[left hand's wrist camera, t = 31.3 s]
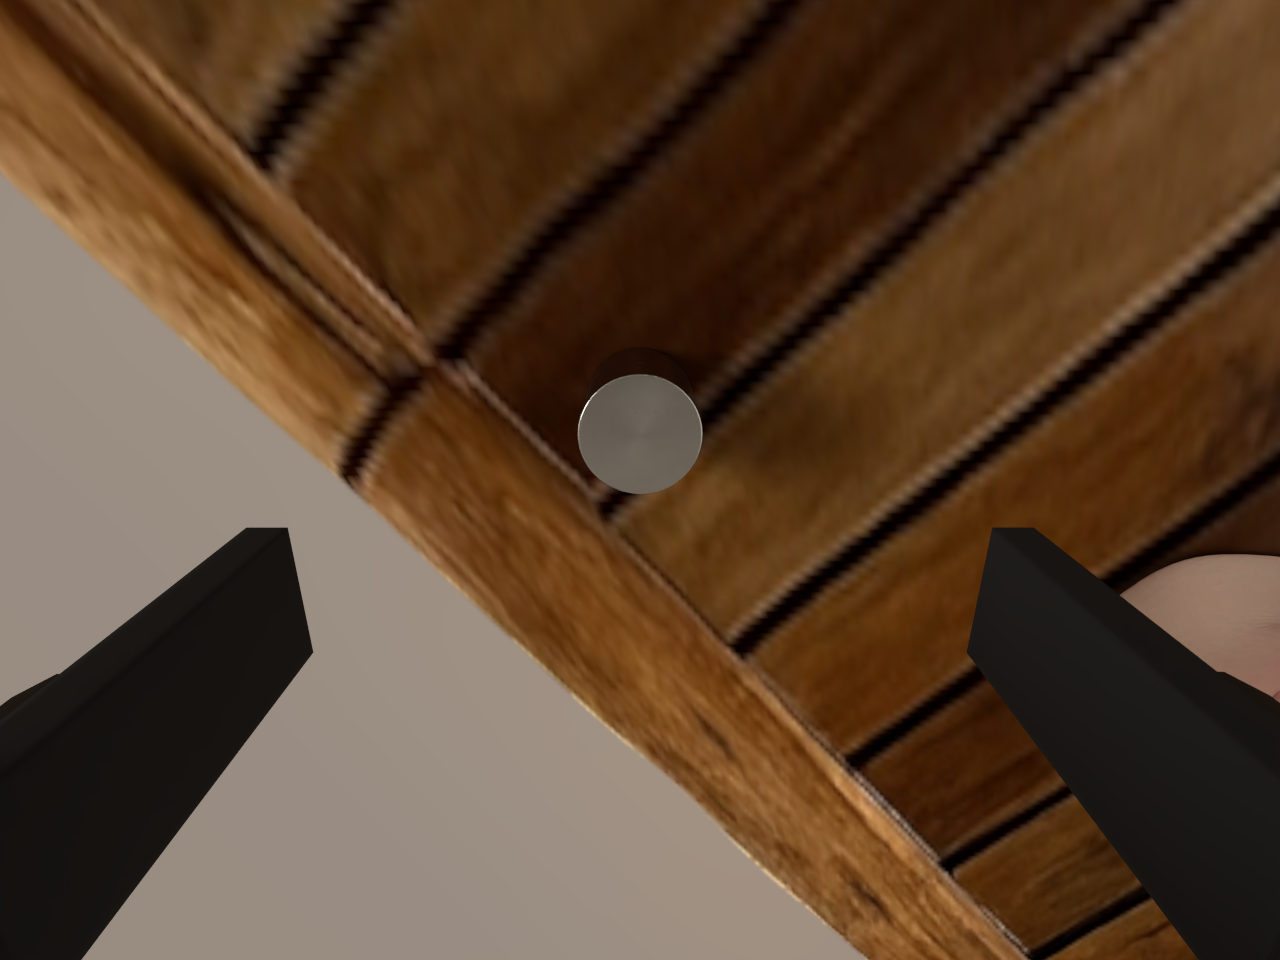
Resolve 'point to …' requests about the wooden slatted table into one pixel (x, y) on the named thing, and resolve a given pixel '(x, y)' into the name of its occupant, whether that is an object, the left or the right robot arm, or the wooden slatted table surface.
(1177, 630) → the anatomical model
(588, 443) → the tin
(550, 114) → the wooden slatted table surface
